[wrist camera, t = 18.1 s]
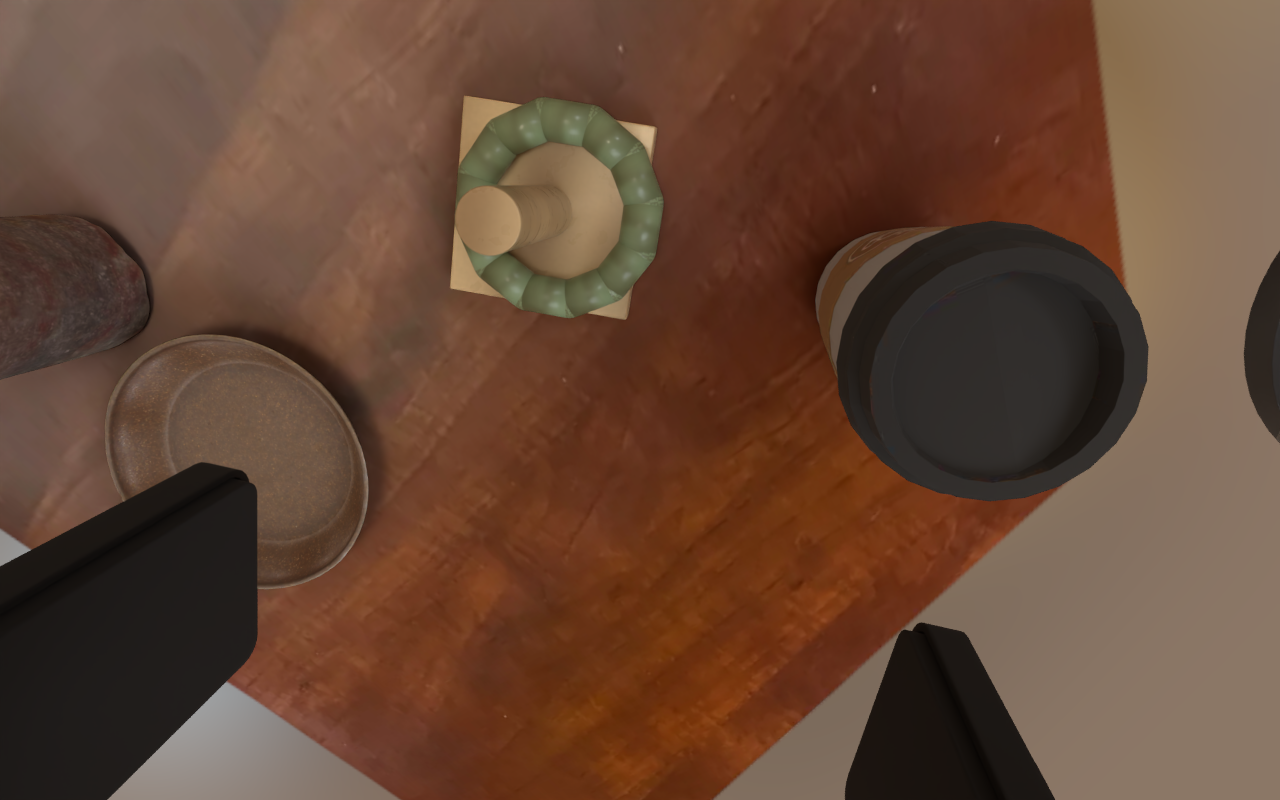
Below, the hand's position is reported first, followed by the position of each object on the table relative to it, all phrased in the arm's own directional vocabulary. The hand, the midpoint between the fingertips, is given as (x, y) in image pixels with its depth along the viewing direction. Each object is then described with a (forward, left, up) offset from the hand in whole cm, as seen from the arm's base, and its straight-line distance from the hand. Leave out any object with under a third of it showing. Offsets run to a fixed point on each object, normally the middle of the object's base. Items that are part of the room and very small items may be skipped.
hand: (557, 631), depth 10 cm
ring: (+6, -4, -24) cm, 25 cm away
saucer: (+22, +12, -26) cm, 36 cm away
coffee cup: (-10, -2, -26) cm, 28 cm away
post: (+7, -4, -26) cm, 27 cm away
